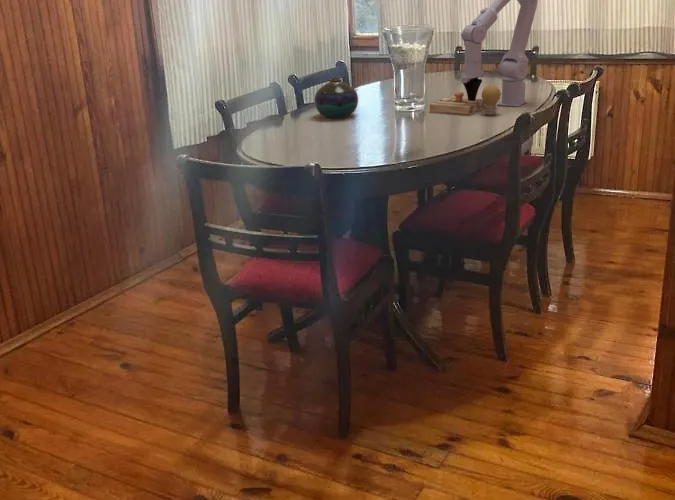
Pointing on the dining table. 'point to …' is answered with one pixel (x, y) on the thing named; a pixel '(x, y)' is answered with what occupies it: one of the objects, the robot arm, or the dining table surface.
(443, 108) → the socket board
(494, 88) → the light bulb
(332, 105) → the vase
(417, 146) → the dining table surface
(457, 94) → the plug mid
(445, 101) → the plug far
